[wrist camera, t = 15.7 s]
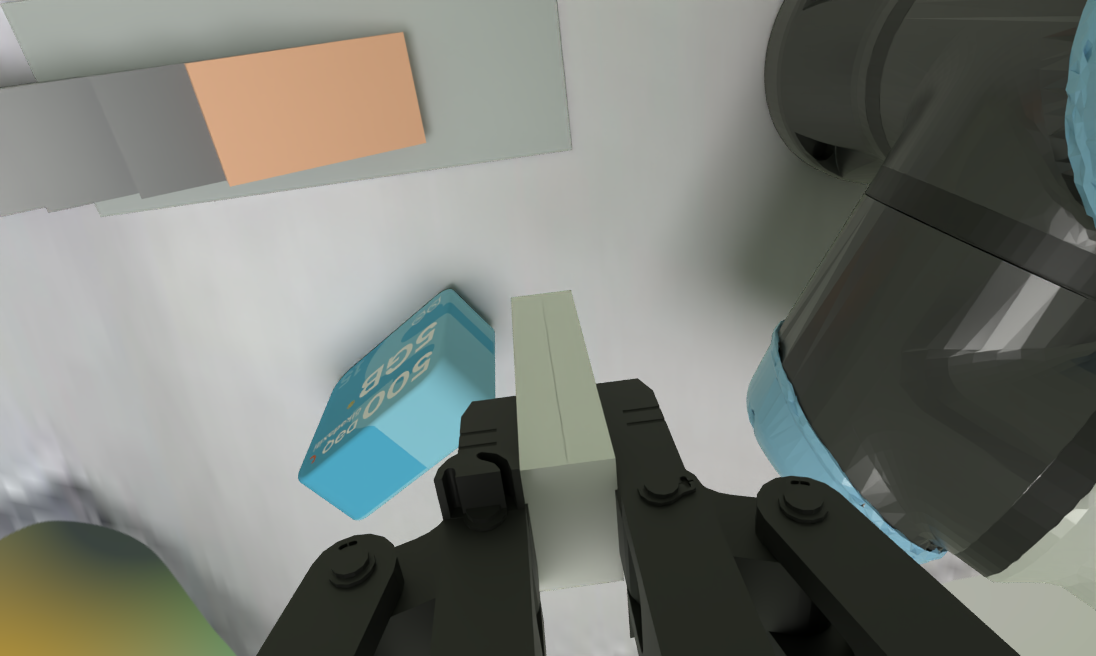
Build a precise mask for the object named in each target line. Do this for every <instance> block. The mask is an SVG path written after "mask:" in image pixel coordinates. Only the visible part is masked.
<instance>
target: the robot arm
mask: <svg viewBox="0 0 1096 656" xmlns="http://www.w3.org/2000/svg"><path fill="white" fill-rule="evenodd" d="M765 91H766V98H767V103H768V108H769V111H770V115H771V118H772V120H773V123H774V125H775V127H776V129H777V131H778V133H779V135H780V136H781V138H782V140H783V141H784V142H785V144H786V145H787V146H788V147H789V148H790V150H791V151H792V152H793V153H794V154H795V155H797V156H798V157H799V158H800V159H801V160H803V161H804V162H806V163H807V164H809V165H811V166H812V167H814V168H816V169H818V170H820V171H822V172H825V173H827V174H829V175H831V176H833V177H836V178H839V179H842V180H846V181H851V182H856V183H865V184H870V186H869V187H868V189H867V190H866V192H865V193H866V194H865V193H864V194H863V196H862V197H861V199H860V201H859V202H858V204H857V206H856V207H855V209H854V210H853V212H852V214H851V215H850V217H849V218H848V220H847V222H846V223H845V225H844V226H843V228H842V230H841V231H840V233H839V234H838V236H837V238H836V239H835V241H834V242H833V244H832V246H831V247H830V249H829V250H828V252H827V254H826V255H825V257H824V258H823V260H822V262H821V263H820V265H819V266H818V268H817V270H816V271H815V273H814V274H813V276H812V278H811V279H810V281H809V283H808V284H807V286H806V287H805V289H804V291H803V292H802V294H801V295H800V297H799V299H798V300H797V302H796V303H795V305H794V307H793V308H792V310H791V311H790V313H789V315H788V316H787V318H786V319H785V320H783V321H780V322H779V324H778V325H777V326H776V328H775V329H774V332H773V334H772V340H771V344H770V346H769V348H768V350H767V352H766V354H765V355H764V357H763V359H762V361H761V363H760V365H759V366H758V368H757V370H756V372H755V374H754V376H753V377H752V379H751V381H750V384H749V387H748V392H747V412H748V415H749V420H750V423H751V425H752V427H753V428H754V434H755V437H756V439H757V441H758V443H759V445H760V447H761V449H762V450H763V452H764V454H765V455H766V457H767V458H768V460H769V461H770V463H771V464H772V466H773V467H774V468H775V470H776V471H777V472H778V474H779V475H780V476H781V477H779V478H775V479H773V480H771V481H769V482H767V483H766V484H764V485H763V486H762V488H761V489H760V491H759V492H758V494H757V498H755V497H746V496H737V495H729V494H724V493H719V492H716V491H713V490H711V489H708V488H706V487H704V486H703V485H702V484H701V483H700V481H699V480H698V479H697V477H696V476H695V475H694V474H692V473H691V472H689V471H687V470H686V469H685V467H684V465H683V462H682V460H681V458H680V455H679V453H678V450H677V448H676V445H675V443H674V441H673V438H672V436H671V433H670V431H669V429H668V426H667V424H666V421H665V420H664V416H663V414H662V412H661V409H660V408H659V404H658V402H657V399H656V397H655V395H654V392H653V390H652V389H650V388H649V387H648V386H646V385H645V384H644V383H643V382H641V381H640V380H639V379H638V378H637V379H630V380H622V381H614V382H606V383H599V384H596V383H595V379H594V376H593V372H592V368H591V364H590V361H589V357H588V353H587V349H586V346H585V342H584V338H583V334H582V331H581V327H580V323H579V319H578V316H577V312H576V308H575V304H574V301H573V297H572V293H571V290H568V291H560V292H552V293H544V294H536V295H528V296H520V297H513V298H511V306H512V325H513V345H514V365H515V384H516V396H511V397H503V398H495V399H487V400H479V401H472V402H471V404H470V405H469V406H468V408H467V409H466V411H465V412H464V413H463V415H462V416H461V422H460V437H459V445H458V448H459V450H458V454H456V455H455V456H453V457H451V458H449V459H448V460H447V461H446V462H445V463H444V464H443V465H442V466H441V467H440V468H439V469H438V471H437V473H436V476H435V478H434V483H435V488H436V492H437V496H438V500H439V504H440V508H441V512H442V516H443V521H442V522H441V523H440V524H439V525H438V526H437V527H436V528H434V529H433V530H431V531H430V532H429V533H427V534H425V535H423V536H421V537H419V538H417V539H414V540H412V541H409V542H407V543H404V544H402V545H399V546H396V547H394V545H393V544H392V543H391V542H390V541H388V540H387V539H386V538H385V537H382V536H378V535H374V534H364V535H354V536H352V537H349V538H346V539H344V540H341V541H338V542H337V543H335V544H334V545H332V546H331V547H329V548H328V549H327V550H325V551H324V552H323V553H322V554H321V555H320V556H319V557H318V558H317V560H316V561H315V562H314V563H313V564H312V566H311V567H310V569H309V571H308V572H307V574H306V575H305V577H304V579H303V580H302V582H301V584H300V585H299V587H298V588H297V590H296V592H295V593H294V595H293V597H292V598H291V600H290V601H289V603H288V605H287V606H286V608H285V610H284V611H283V613H282V614H281V616H280V618H279V619H278V621H277V623H276V624H275V626H274V628H273V629H272V631H271V632H270V634H269V636H268V637H267V639H266V641H265V642H264V644H263V645H262V647H261V649H260V650H259V652H258V654H257V655H256V656H546V645H545V633H544V620H543V614H542V608H541V601H540V592H542V591H550V590H557V589H564V588H572V587H579V586H587V585H594V584H602V583H609V582H616V581H624V575H625V580H626V584H627V595H628V610H629V625H630V638H633V637H635V641H636V645H637V650H638V654H639V656H1020V655H1019V654H1018V653H1017V652H1016V651H1015V650H1014V649H1013V648H1011V647H1010V646H1009V645H1008V644H1007V643H1006V642H1004V640H1003V639H1001V638H1000V637H999V636H998V635H997V634H996V633H994V631H993V630H991V629H990V628H989V627H988V626H987V625H985V623H984V622H982V621H981V620H980V619H979V618H978V617H977V616H976V615H975V614H974V613H973V612H971V611H970V610H969V609H968V608H967V607H966V606H965V605H964V604H963V603H961V602H960V601H959V600H958V599H957V598H956V597H955V596H954V595H953V594H951V593H950V592H949V591H948V590H947V589H946V588H945V587H944V586H943V585H941V584H940V583H939V582H938V581H937V580H936V579H935V578H934V577H933V576H931V575H930V574H929V573H928V572H927V571H926V570H925V569H924V568H923V567H921V566H920V565H919V564H923V563H927V562H929V561H931V560H936V559H940V558H942V557H943V556H944V555H945V554H946V552H947V551H949V552H951V553H952V554H954V555H956V556H957V557H958V558H960V559H961V560H962V561H964V562H965V563H967V564H968V565H969V566H971V567H972V568H973V569H975V570H976V571H978V572H979V573H980V574H982V575H983V576H984V577H986V578H987V579H989V580H990V581H992V582H997V583H998V582H1000V583H1001V582H1003V583H1006V582H1007V583H1010V582H1011V583H1012V582H1013V583H1048V584H1053V585H1057V586H1061V587H1063V588H1064V589H1066V590H1067V591H1069V592H1070V593H1072V594H1073V595H1074V596H1076V597H1077V598H1079V599H1080V600H1082V601H1083V602H1085V603H1086V604H1087V605H1089V606H1090V607H1092V608H1093V609H1095V610H1096V0H785V1H784V3H783V5H782V7H781V9H780V11H779V14H778V16H777V19H776V21H775V24H774V27H773V30H772V33H771V37H770V40H769V45H768V49H767V55H766V63H765ZM623 571H624V575H623Z"/></svg>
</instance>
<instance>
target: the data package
mask: <svg viewBox="0 0 1096 656" xmlns="http://www.w3.org/2000/svg"><path fill="white" fill-rule="evenodd" d="M487 399H495V332H494V330H493V328H492V327H491V326H490V325H488V324H487V323H486V322H485V321H484V320H483V319H482V318H481V317H480V316H479V315H478V314H477V313H476V312H475V311H474V310H473V309H472V308H471V307H470V306H469V305H468V304H467V303H466V302H465V301H464V300H463V299H462V298H461V297H460V296H459V295H458V294H457V293H456V292H454V291H453V290H452V289H447V290H444V291H442V292H441V293H439V294H438V295H437V296H435V297H434V298H433V299H432V300H431V301H430V302H428V303H427V304H426V305H425V306H424V307H422V308H421V309H420V310H419V311H418V312H417V313H415V314H414V315H413V316H412V317H411V318H410V319H408V320H407V321H406V322H405V323H404V324H403V325H401V326H400V327H399V328H398V329H397V330H395V331H394V332H393V333H392V334H391V335H390V336H388V337H387V338H386V339H385V340H384V341H383V342H381V343H380V344H379V345H378V346H377V347H376V348H374V349H373V350H372V351H371V352H370V353H369V354H367V355H366V356H365V357H364V358H363V359H361V360H360V361H359V362H358V363H357V364H356V365H354V366H353V367H352V368H351V369H350V370H349V371H348V372H347V373H346V374H345V375H344V376H343V377H342V378H341V379H340V380H339V382H338V383H337V385H336V386H335V388H334V389H333V391H332V394H331V396H330V399H329V401H328V403H327V406H326V408H325V411H324V413H323V415H322V418H321V420H320V423H319V425H318V427H317V430H316V432H315V435H314V437H313V439H312V442H311V444H310V447H309V449H308V451H307V454H306V456H305V459H304V461H303V463H302V466H301V468H300V471H299V474H298V479H299V481H300V482H301V483H302V484H304V485H305V486H306V487H308V488H309V489H311V490H312V491H314V492H315V493H316V494H318V495H319V496H321V497H322V498H324V499H325V500H326V501H328V502H329V503H331V504H332V505H334V506H335V507H336V508H338V509H339V510H341V511H342V512H344V513H345V514H346V515H348V516H349V517H351V518H352V519H354V520H362V519H364V518H366V517H367V516H369V515H370V514H371V513H373V512H374V511H375V510H377V509H378V508H379V507H381V506H382V505H383V504H385V503H386V502H387V501H389V500H390V499H391V498H392V497H394V496H395V495H396V494H398V493H399V492H400V491H402V490H403V489H404V488H406V487H407V486H408V485H409V484H411V483H412V482H413V481H415V480H416V479H417V478H419V477H420V476H421V475H423V474H424V473H425V472H427V471H428V470H429V469H430V468H432V467H433V466H434V465H436V464H437V463H438V462H440V461H441V460H442V459H444V458H445V457H446V456H448V455H449V454H450V453H451V452H453V451H454V450H455V449H457V448H458V445H459V437H460V422H461V416H462V415H463V413H464V412H465V411H466V409H467V408H468V406H469V405H470V404H471V402H472V401H479V400H487Z"/></svg>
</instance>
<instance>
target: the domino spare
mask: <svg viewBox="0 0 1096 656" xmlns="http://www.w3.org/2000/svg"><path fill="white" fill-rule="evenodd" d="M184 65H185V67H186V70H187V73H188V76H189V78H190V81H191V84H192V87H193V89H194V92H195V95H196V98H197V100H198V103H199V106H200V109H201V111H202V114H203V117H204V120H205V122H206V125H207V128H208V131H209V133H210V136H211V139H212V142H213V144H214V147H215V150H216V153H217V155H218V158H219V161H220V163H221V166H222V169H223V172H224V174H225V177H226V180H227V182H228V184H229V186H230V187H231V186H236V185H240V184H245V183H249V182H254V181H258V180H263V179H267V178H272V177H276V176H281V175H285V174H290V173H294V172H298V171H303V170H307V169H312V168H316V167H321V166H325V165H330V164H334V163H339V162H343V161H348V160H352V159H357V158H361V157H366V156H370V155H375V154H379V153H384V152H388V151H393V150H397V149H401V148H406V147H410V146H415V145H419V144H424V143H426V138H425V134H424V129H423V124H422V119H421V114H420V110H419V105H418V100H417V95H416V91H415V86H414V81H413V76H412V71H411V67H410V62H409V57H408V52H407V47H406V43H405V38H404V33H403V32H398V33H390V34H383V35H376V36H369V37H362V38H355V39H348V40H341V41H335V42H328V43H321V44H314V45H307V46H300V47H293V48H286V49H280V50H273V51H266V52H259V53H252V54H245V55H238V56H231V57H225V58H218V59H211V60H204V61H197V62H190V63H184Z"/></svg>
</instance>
